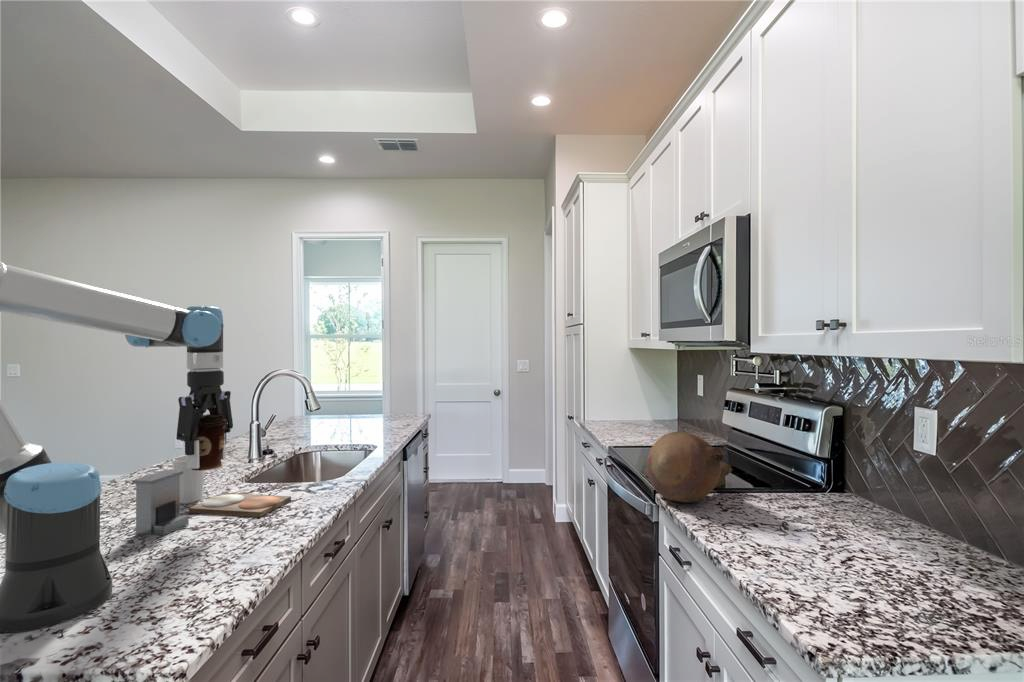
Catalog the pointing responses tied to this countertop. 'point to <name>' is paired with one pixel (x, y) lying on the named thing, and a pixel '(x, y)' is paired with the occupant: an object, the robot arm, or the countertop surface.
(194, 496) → the cup
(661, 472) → the jug
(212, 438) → the coffee cup
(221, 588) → the countertop surface
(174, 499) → the miniature fireplace
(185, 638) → the countertop surface
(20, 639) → the countertop surface
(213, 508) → the walnut board
